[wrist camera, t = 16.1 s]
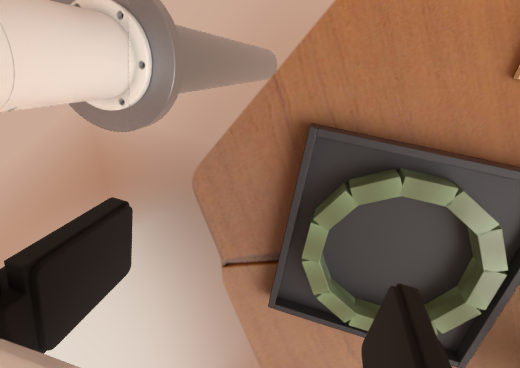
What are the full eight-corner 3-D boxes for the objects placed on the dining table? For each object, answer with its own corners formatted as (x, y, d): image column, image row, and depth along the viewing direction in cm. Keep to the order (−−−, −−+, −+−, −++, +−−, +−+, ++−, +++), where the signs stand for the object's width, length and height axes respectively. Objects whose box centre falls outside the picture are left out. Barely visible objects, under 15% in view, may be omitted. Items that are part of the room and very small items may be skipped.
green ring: (291, 292, 38) (288, 306, 36) (328, 151, 31) (327, 158, 29) (448, 339, 35) (455, 358, 33) (530, 196, 28) (548, 208, 26)
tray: (271, 295, 40) (267, 307, 38) (311, 123, 31) (309, 126, 29) (457, 354, 37) (464, 369, 35) (566, 177, 27) (584, 185, 25)
